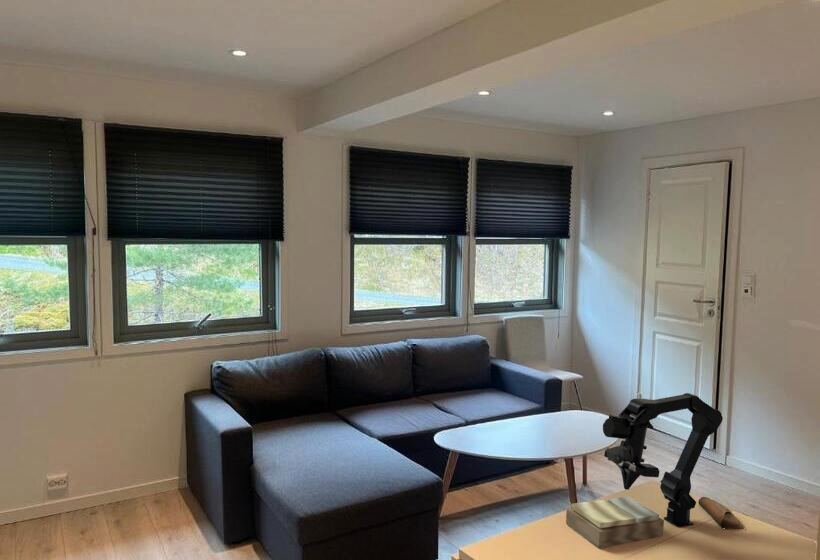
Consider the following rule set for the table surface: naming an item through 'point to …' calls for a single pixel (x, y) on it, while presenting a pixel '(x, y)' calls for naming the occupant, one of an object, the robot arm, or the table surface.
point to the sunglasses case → (720, 514)
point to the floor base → (643, 529)
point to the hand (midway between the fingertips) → (626, 489)
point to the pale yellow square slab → (603, 513)
